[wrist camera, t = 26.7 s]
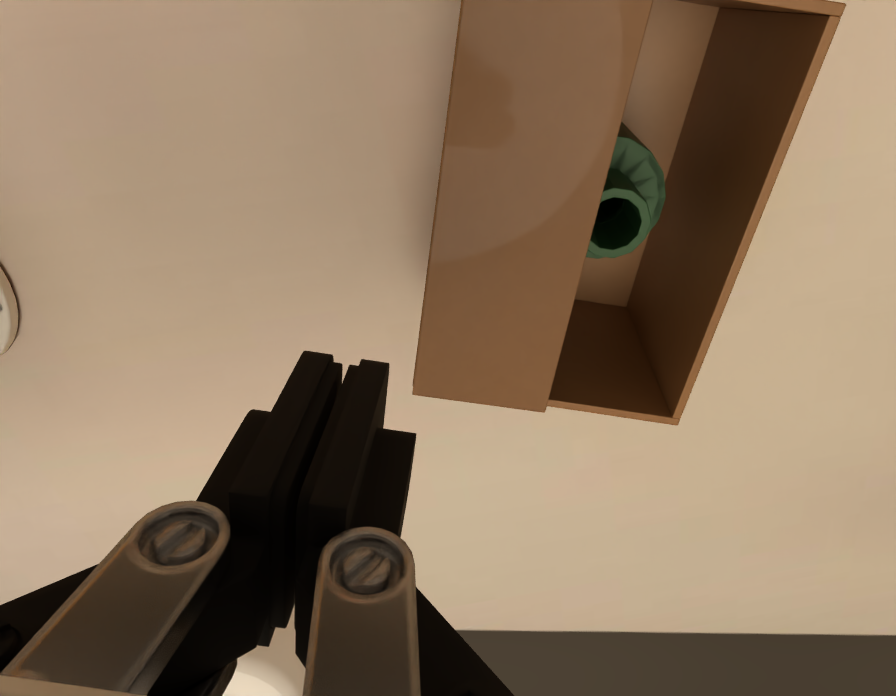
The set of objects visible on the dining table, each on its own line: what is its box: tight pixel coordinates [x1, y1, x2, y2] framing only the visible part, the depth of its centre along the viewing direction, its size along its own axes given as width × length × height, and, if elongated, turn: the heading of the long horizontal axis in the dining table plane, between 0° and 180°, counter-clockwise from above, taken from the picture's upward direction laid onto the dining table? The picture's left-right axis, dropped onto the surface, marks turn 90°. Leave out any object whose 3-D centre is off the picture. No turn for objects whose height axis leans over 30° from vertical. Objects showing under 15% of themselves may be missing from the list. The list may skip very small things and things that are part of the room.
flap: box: [413, 0, 653, 412], centre depth 25 cm, size 6×18×1 cm, turn 172°
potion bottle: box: [222, 604, 306, 696], centre depth 44 cm, size 8×8×18 cm
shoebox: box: [413, 0, 846, 425], centre depth 31 cm, size 13×18×12 cm
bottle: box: [586, 122, 666, 259], centre depth 31 cm, size 6×6×11 cm
